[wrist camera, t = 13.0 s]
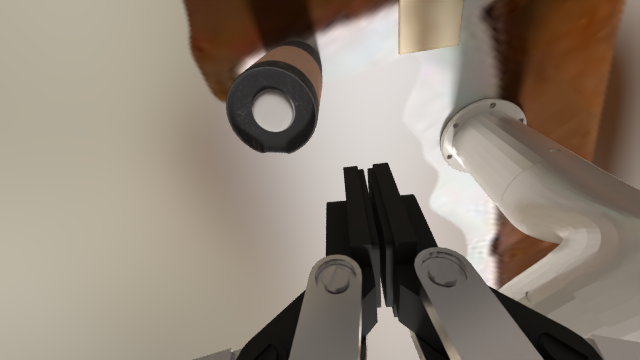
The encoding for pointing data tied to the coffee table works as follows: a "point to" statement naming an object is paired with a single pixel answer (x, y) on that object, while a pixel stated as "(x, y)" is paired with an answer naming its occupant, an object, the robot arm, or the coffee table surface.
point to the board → (428, 24)
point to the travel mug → (277, 99)
